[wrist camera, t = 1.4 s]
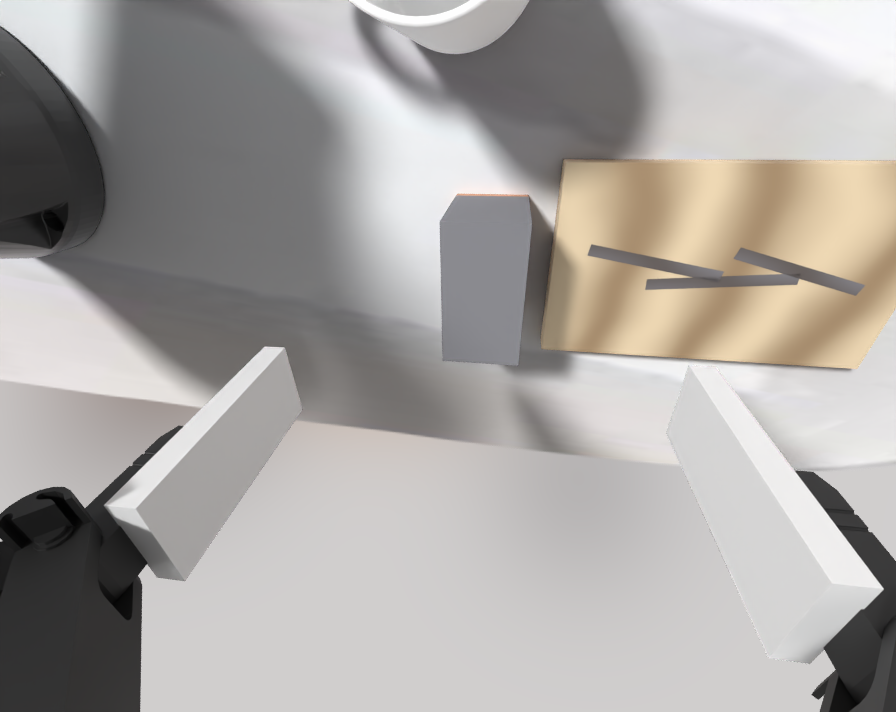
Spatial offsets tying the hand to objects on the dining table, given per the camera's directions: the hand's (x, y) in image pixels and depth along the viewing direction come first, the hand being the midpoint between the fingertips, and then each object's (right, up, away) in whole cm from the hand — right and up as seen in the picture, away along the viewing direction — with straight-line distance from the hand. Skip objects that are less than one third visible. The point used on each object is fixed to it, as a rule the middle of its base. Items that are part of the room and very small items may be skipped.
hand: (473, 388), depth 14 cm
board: (+16, +7, +12) cm, 21 cm away
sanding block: (+2, +8, +14) cm, 16 cm away
